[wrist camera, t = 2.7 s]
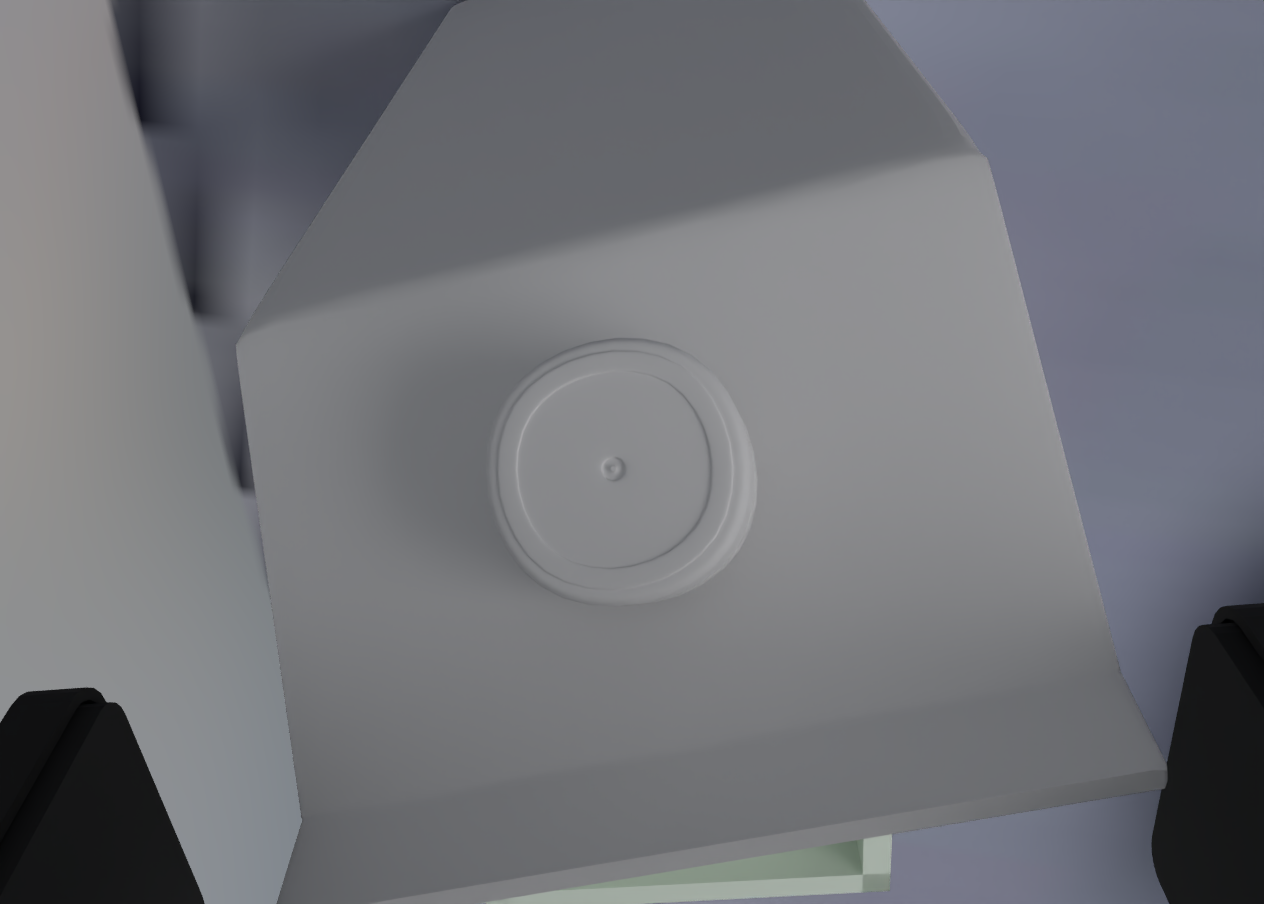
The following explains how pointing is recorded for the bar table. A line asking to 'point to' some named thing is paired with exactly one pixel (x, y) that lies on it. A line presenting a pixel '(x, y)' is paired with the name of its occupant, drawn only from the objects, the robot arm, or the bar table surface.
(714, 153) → the milk carton
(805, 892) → the tray
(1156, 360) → the bar table surface
